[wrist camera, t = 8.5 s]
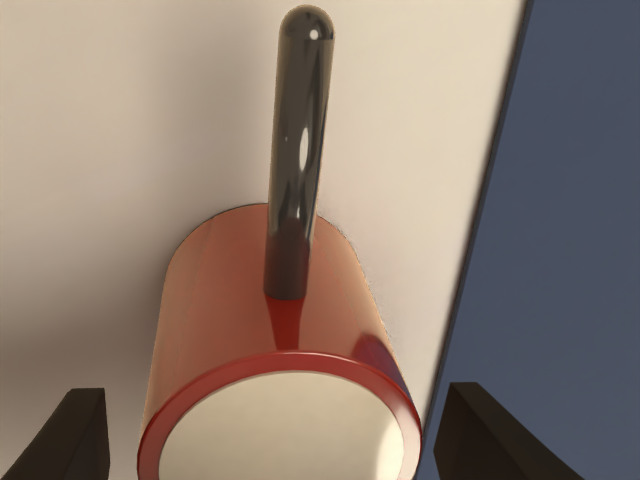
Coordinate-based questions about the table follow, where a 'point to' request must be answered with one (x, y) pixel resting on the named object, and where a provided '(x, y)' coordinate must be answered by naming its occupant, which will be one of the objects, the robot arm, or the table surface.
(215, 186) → the table surface
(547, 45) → the cloth
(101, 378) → the table surface
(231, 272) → the pot
